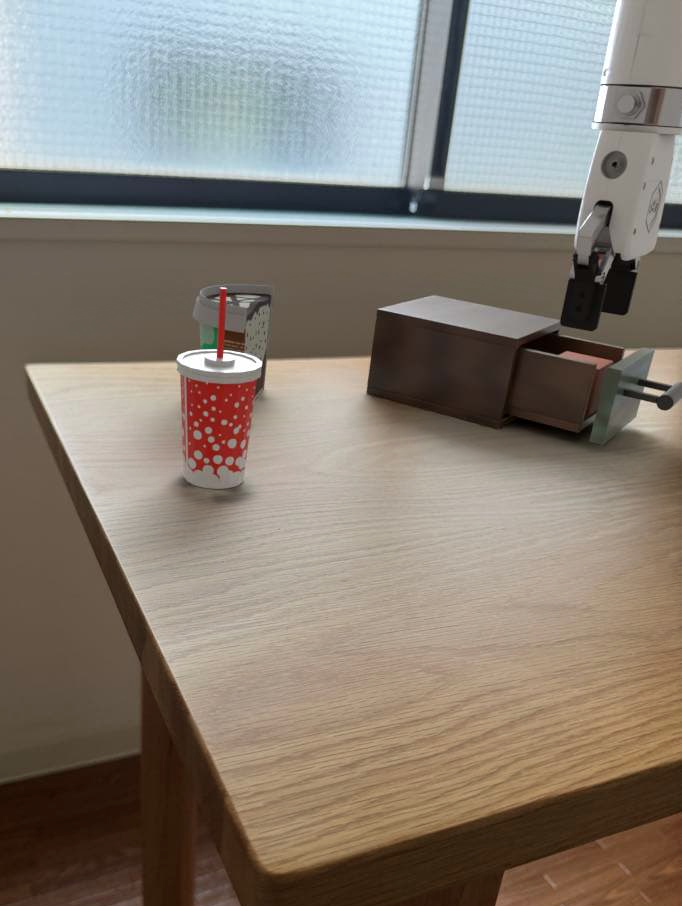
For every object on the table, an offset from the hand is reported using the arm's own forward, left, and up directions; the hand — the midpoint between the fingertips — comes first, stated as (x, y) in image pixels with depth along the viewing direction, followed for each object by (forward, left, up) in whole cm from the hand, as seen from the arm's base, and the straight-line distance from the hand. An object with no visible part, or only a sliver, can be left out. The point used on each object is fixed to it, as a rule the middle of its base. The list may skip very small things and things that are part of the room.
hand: (594, 320), depth 79 cm
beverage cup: (+16, +35, -11) cm, 40 cm away
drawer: (0, 0, -9) cm, 9 cm away
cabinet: (+12, 0, -10) cm, 16 cm away
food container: (+28, +19, -11) cm, 36 cm away
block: (0, 0, -8) cm, 8 cm away
